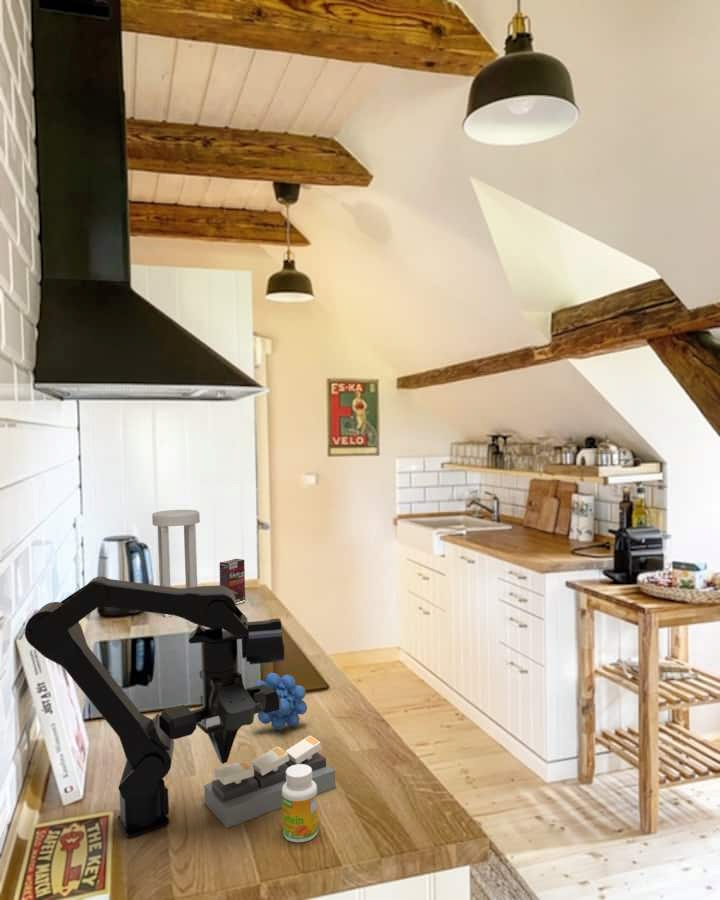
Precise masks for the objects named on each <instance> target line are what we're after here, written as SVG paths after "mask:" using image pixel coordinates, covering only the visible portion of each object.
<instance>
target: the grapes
mask: <svg viewBox="0 0 720 900" xmlns="http://www.w3.org/2000/svg"><path fill="white" fill-rule="evenodd" d="M263 684H265V685H267V686H268V687H270V688H271V689H273V690H275V691H276V692H277V693H279V696H280V700H281V708H280V709H279V710H276V711H273V712H269V713H264V712H263V711H262V712H260V713H257V719H258V721H259V722H260V723H262V724H265V725H268V724H271V726H272V727H273V729H275V731H276V730H277V731H282V730H284V729H285V728H286V725H288V726H289V727H296V726H298V724H299V723H300V716H302V715H304V714H305V713H307V711H308V706H307V703H306V702H305V701H304V699H305V698H306V693H307V692H306V690H305V688H304V687H303V686H302V685H297V684H296V680H295V678H294V676H292V675H291V674H284V675H282V676H280V675H279V674H278V673H275V672H270V673H268V674H267V675H266V680H265V681H264V680H259V681H256V683H255V684H254V687H255V686H259V685H263ZM299 715H300V716H299Z"/></svg>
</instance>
